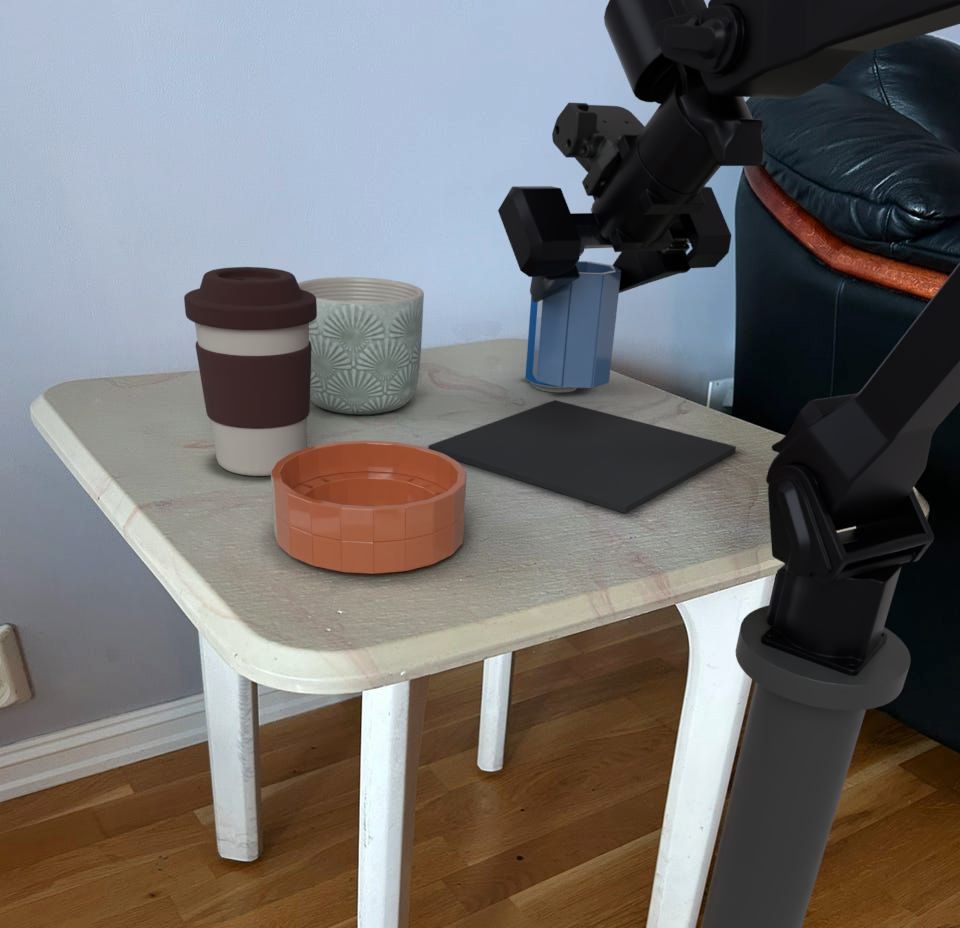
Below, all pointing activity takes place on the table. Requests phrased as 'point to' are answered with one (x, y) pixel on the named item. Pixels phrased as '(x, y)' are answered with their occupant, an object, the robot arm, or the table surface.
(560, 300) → the blue cup
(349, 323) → the planter
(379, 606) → the table surface
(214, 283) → the coffee cup
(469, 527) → the table surface
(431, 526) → the bowl
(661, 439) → the mat
